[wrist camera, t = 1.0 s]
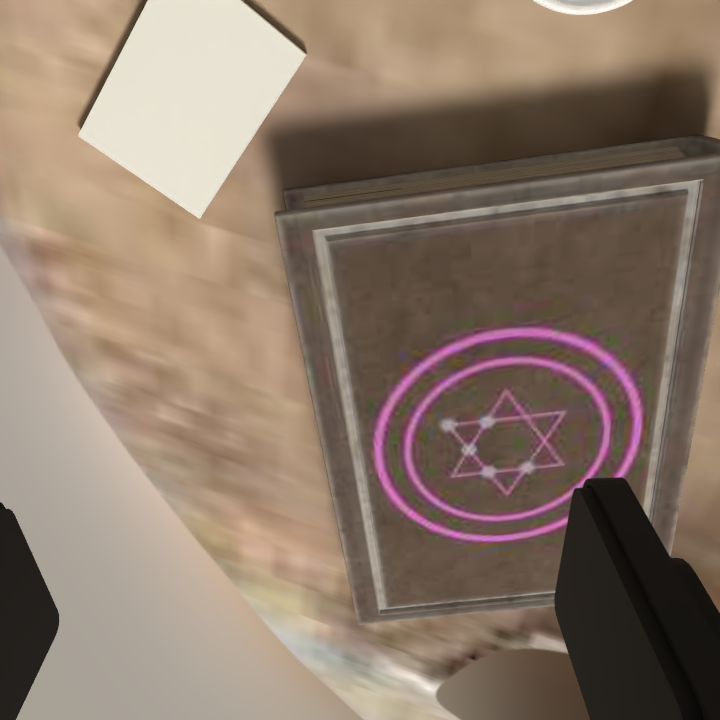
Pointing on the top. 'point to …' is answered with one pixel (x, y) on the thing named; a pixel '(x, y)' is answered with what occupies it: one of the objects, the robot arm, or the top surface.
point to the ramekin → (582, 5)
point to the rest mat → (190, 95)
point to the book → (501, 359)
